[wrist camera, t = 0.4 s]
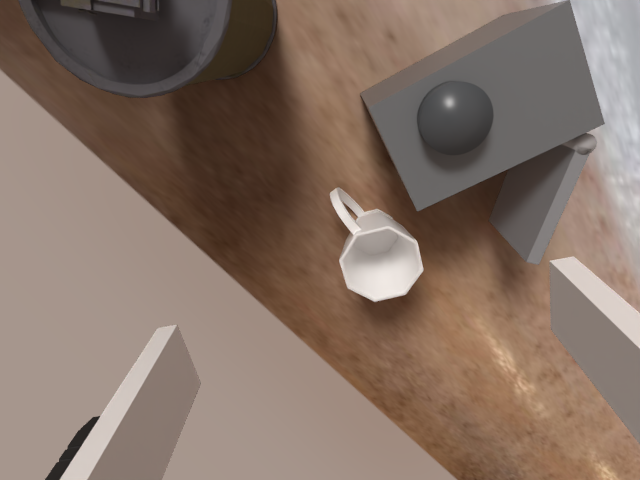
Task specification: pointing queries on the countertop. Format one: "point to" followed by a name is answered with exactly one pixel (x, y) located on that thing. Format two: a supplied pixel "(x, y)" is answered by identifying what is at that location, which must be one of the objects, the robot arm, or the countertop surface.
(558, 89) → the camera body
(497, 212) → the door
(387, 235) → the cup
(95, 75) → the canister
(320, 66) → the countertop surface
